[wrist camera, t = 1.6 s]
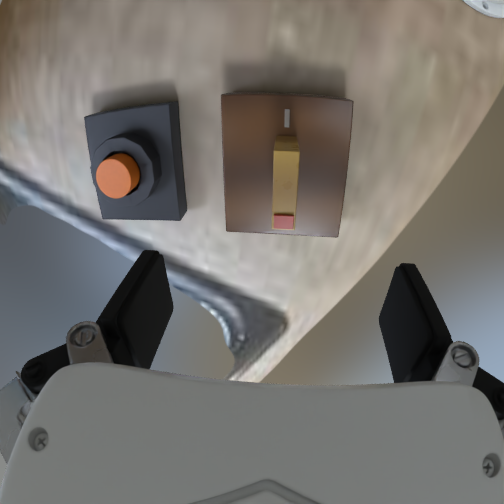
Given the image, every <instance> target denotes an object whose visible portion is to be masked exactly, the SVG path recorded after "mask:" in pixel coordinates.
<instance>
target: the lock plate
mask: <svg viewBox="0 0 504 504" xmlns="http://www.w3.org/2000/svg"><path fill="white" fill-rule="evenodd" d="M221 114H222V146H223V172H224V195H225V215H226V231H227V232H249V233H268V234H287V235H305V236H322V237H338V234H339V228H340V222H341V215H342V208H343V201H344V193H345V186H346V178H347V169H348V160H349V150H350V140H351V128H352V116H353V101H352V100H349V99H346V98H339V97H330V96H320V95H307V94H290V93H226V94H222V95H221ZM276 136H295V137H297V140H298V145H299V150H300V161H299V178H298V195H297V209H296V223H295V230H280V229H272V197H273V156H274V146H275V140H276Z"/></svg>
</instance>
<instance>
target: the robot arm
mask: <svg viewBox="0 0 504 504" xmlns="http://www.w3.org/2000/svg"><path fill="white" fill-rule="evenodd" d="M463 1H464V2H465V3H466V4H468V5H469V6H471V7H472V8H474V9H475V10H477V11H479V12H481V13H483V14H485V15H488V16H490V17H495V18H504V0H463ZM172 312H173V301H172V297H171V292H170V288H169V283H168V278H167V273H166V268H165V263H164V258H163V255H161V254H159V252H158V251H154V250H144V251H143V252H142V253H141V255H140V256H139V258H138V259H137V260H136V262H135V263H134V265H133V266H132V268H131V269H130V271H129V272H128V274H127V275H126V277H125V278H124V280H123V281H122V282H121V284H120V285H119V287H118V288H117V290H116V291H115V293H114V294H113V296H112V298H111V299H110V301H109V302H108V304H107V305H106V307H105V308H104V310H103V312H102V313H101V315H100V316H99V318H98V320H97V321H96V323H95V322H91V321H84V322H80V323H78V324H76V325H75V326H73V327H72V328H71V329H70V330H69V332H68V333H67V336H66V344H64V345H62V346H59V347H57V348H55V349H53V350H50V351H48V352H46V353H44V354H41V355H39V356H37V357H35V358H33V359H31V360H29V361H28V362H27V363H26V364H25V365H24V367H23V368H22V371H21V378H20V379H18V378H17V377H15V378H14V379H13V380H12V381H10V382H9V383H8V384H7V385H5V386H4V387H3V388H2V389H1V390H0V451H1V454H2V456H3V457H4V459H5V461H6V463H7V468H6V471H5V474H4V477H3V481H2V485H1V488H0V504H504V383H503V382H501V381H500V380H498V379H497V378H495V377H494V376H492V375H490V374H489V373H488V372H486V371H484V370H483V369H481V368H480V367H478V366H479V357H478V354H477V352H476V350H475V349H474V348H473V347H472V346H471V345H469V344H468V343H465V342H461V341H457V342H454V343H453V341H452V339H451V335H450V333H449V331H448V328H447V326H446V324H445V322H444V320H443V318H442V315H441V313H440V311H439V309H438V308H437V305H436V303H435V301H434V299H433V297H432V295H431V293H430V292H429V289H428V287H427V285H426V284H425V282H424V280H423V278H422V276H421V274H420V272H419V271H418V269H417V268H416V265H415V264H409V263H401V264H400V266H399V267H396V268H395V271H394V275H393V278H392V281H391V284H390V287H389V290H388V293H387V296H386V298H385V301H384V304H383V307H382V310H381V313H380V316H379V325H380V328H381V332H382V335H383V339H384V343H385V347H386V351H387V354H388V359H389V363H390V367H391V371H392V375H393V380H394V383H390V384H389V383H388V384H368V385H289V384H287V385H286V384H268V383H254V382H242V381H231V380H221V379H212V378H203V377H195V376H189V375H181V374H175V373H169V372H162V371H156V370H150V367H151V364H152V361H153V359H154V356H155V354H156V351H157V349H158V346H159V344H160V341H161V339H162V337H163V334H164V331H165V329H166V327H167V324H168V322H169V320H170V317H171V315H172Z"/></svg>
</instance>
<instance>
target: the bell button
mask: <svg viewBox="0 0 504 504" xmlns="http://www.w3.org/2000/svg"><path fill="white" fill-rule="evenodd" d="M139 178H140V171H139V167H138V165H137V163H136V161H135V160H134V159H133V158H132V157H131V156H129V155H127V154H124V153H118V154H114V155H113V156H111V157H109V158H107V159H106V160H104V161H103V162H101V163H100V165H99V166H98V168H97V172H96V180H97V184H98V186H99V188H100V190H101V191H102V192H103V193H104V194H105V195H107V196H108V197H111V198H122V197H124V196H125V195H126V194H128V193H129V192H130V191H131V190H132V189H133V188H135V187H136V185H137V184H138V182H139Z"/></svg>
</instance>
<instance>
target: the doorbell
mask: <svg viewBox="0 0 504 504" xmlns="http://www.w3.org/2000/svg"><path fill="white" fill-rule="evenodd" d="M84 119H85V127H86V135H87V142H88V148H89V154H90V160H91V167H90V168H91V173H92V178H93V183H94V185H95V187H96V191H97V196H98V201H99V205H100V209H101V214H102V218H103V219H127V220H174V221H180V220H181V219H182V218H183V216H184V215H185V213H186V212H187V206H186V197H185V187H184V177H183V166H182V155H181V142H180V128H179V113H178V102H177V101H176V102H166V103H157V104H148V105H141V106H134V107H127V108H121V109H115V110H110V111H104V112H99V113H95V114H92V115H89V116H85V117H84ZM118 153H124V154H127V155H129V156H131V157H132V158H133V159H134V160H135V161H136V163H137V165H138V167H139V171H140V178H139V182H138V184H137V185H136V187H135V188H133V189H132V190H131V191H130V192H129V193H128V194H126V195H125V196H124V197H122V198H111V197H108V196H107V195H105V194H104V193H103V192H102V191H101V190H100V188H99V186H98V184H97V180H96V172H97V168H98V166H99V165H100V163H101V162H103V161H104V160H106V159H107V158H109V157H111V156H113V155H114V154H118Z"/></svg>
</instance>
